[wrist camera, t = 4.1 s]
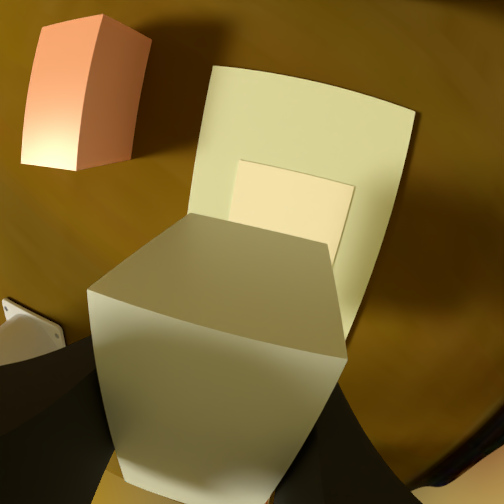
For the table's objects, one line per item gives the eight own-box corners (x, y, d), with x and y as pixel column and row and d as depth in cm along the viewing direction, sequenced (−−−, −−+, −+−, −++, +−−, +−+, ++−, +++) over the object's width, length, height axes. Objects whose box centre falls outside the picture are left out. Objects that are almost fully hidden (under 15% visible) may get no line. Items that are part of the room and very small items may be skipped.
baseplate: (318, 392, 19) (318, 398, 19) (176, 357, 20) (173, 363, 20) (412, 112, 13) (416, 111, 12) (215, 67, 14) (212, 65, 13)
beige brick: (272, 408, 11) (253, 519, 7) (175, 382, 12) (125, 481, 7) (327, 243, 9) (347, 359, 4) (190, 212, 9) (87, 289, 4)
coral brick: (131, 159, 16) (76, 170, 11) (79, 152, 16) (21, 163, 12) (153, 40, 14) (103, 14, 9) (96, 43, 14) (42, 27, 9)
